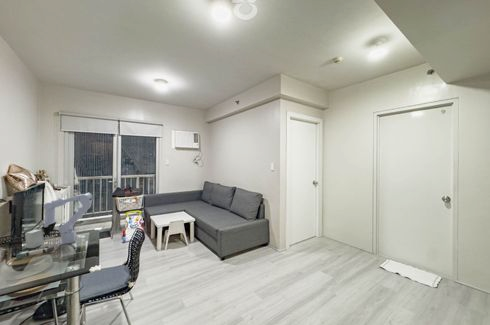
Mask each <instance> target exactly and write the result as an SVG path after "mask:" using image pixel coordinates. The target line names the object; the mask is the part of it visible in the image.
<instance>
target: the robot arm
mask: <svg viewBox="0 0 490 325" xmlns="http://www.w3.org/2000/svg"><path fill="white" fill-rule="evenodd" d="M93 200H94V196H93V194H92V193H90V192H87V193H82V194H81V193H80V194H77V195H74V196H71V197H68V198H63V197H60V198H57V199H56V200H53V199H52V200H51V201H49V202H47V203H44V205H43V208H44V221H43V222H42V224H44V225H43V226H42V227H41V230H42V231H43V233H44V236H49V235H50V233H51V232H53V231H54V228H55V226H56V224H57V221H56V219H55V214H56V210H55V209H56V208H59V207H62V206H65V205H66V204H67V203H70V202H71V203H72V202H74V201H78V202H80V203H81V205H82V206H81V207H80V208H79V209H78V210H77V212H75V213H74V214H73V215H72V216H71V218H69V219H68V221H66V222H65V223H64V224H62V225H60V226H59V227H58V232H59V233H60V239H61V242H60V244H59V245H62V244H63V245H66V243H67V244H72V243H75V242H76V241H77V240H78V238H77V231H76V230H73V227H74V225H75V224H76V223H77V221H78V220H79V219H80V218H82V216H84V214H85V213H86V212H87V211H88V210H90V208H91V206H92V202H93Z"/></svg>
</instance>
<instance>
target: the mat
mask: <svg viewBox="0 0 490 325" xmlns="http://www.w3.org/2000/svg"><path fill="white" fill-rule="evenodd" d="M63 245H64V244H61V245H60V244H59V245H52V246H47V247H48V248H49V247H53V246H54V248H58V249H59V248H61V247H62V246H63ZM40 249H45V247H39V248H37V249H36V248H34V249H31V250H32V251H35V250H40Z"/></svg>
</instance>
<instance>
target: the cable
mask: <svg viewBox="0 0 490 325" xmlns="http://www.w3.org/2000/svg"><path fill="white" fill-rule="evenodd" d="M52 246H53V247H51V246H48V247H49V248H46V249H45V252H51V251H53V250H54V246H55V245H52ZM39 249H40V248H39ZM34 250H35V249H34ZM25 251H26V252H22V253H25V256H26V253H27V252H28V251H29V250H28V251H27V250H25ZM22 253H20V254H22ZM40 253H43V249H40V250H35V251H30V252H29V256H30V255H35V254H40Z"/></svg>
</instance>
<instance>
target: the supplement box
mask: <svg viewBox="0 0 490 325" xmlns="http://www.w3.org/2000/svg"><path fill="white" fill-rule="evenodd" d="M43 233H44V230H43V229H33V230H30V231H27V232H25V233H24V237H25V242H26V243H25V245H26V248H27V249H36V248H38V247H40V246H43V245H44V244H45V242H44V241H45V240H44V234H43Z"/></svg>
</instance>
